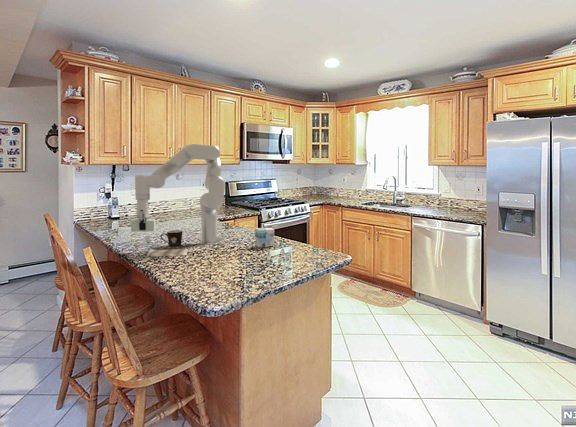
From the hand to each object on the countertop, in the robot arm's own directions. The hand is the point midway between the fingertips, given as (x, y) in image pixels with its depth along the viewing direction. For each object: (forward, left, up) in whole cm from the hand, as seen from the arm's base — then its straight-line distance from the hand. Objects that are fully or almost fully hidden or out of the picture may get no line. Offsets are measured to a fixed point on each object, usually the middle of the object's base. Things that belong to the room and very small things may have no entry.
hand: (143, 228), depth 201 cm
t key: (0, -13, -13) cm, 18 cm away
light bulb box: (-69, -1, -13) cm, 70 cm away
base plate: (-14, +14, -12) cm, 23 cm away
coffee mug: (-15, -4, -13) cm, 20 cm away
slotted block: (0, 0, -1) cm, 1 cm away
